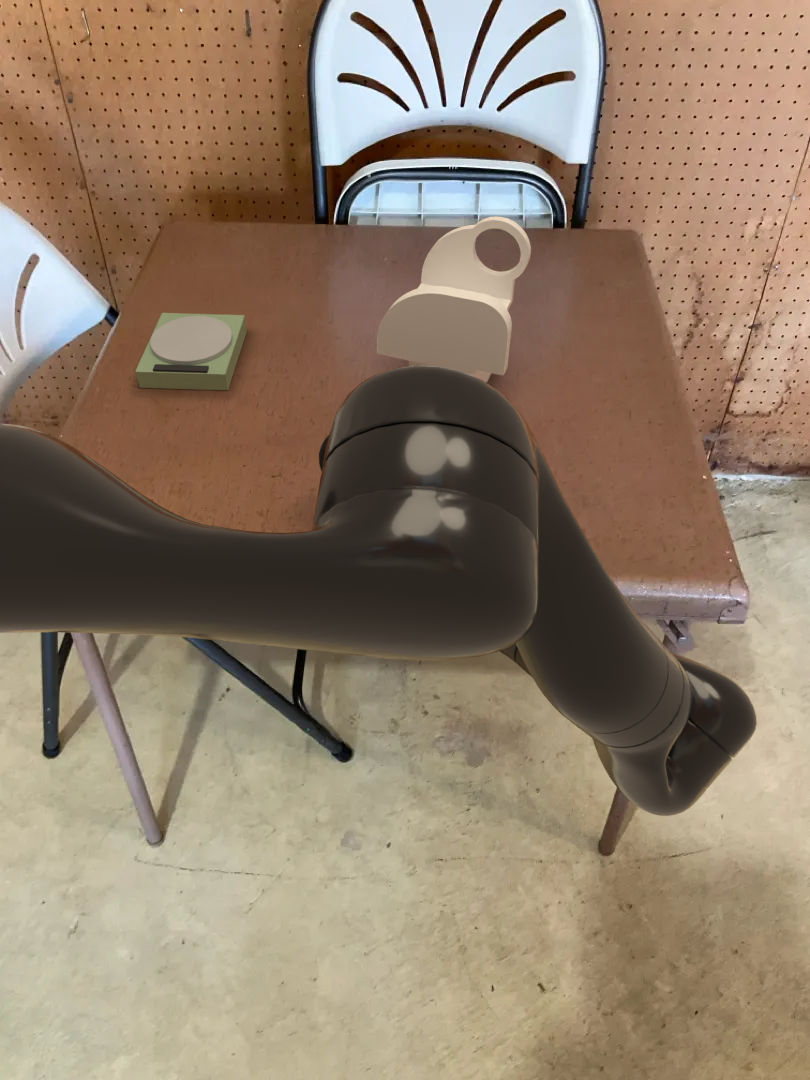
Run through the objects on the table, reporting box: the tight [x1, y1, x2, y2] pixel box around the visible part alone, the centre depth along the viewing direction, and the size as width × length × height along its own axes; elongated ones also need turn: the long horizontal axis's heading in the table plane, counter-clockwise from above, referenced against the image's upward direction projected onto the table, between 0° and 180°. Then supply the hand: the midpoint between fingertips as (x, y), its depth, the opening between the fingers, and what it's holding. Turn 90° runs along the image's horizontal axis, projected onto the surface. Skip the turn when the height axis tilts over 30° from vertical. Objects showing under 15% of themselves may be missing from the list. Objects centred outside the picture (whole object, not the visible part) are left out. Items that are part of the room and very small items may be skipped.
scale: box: [135, 312, 248, 391], centre depth 97 cm, size 12×10×3 cm
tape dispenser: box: [375, 215, 532, 384], centre depth 86 cm, size 14×13×18 cm
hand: (374, 483), depth 74 cm, fingers open, 8 cm apart
